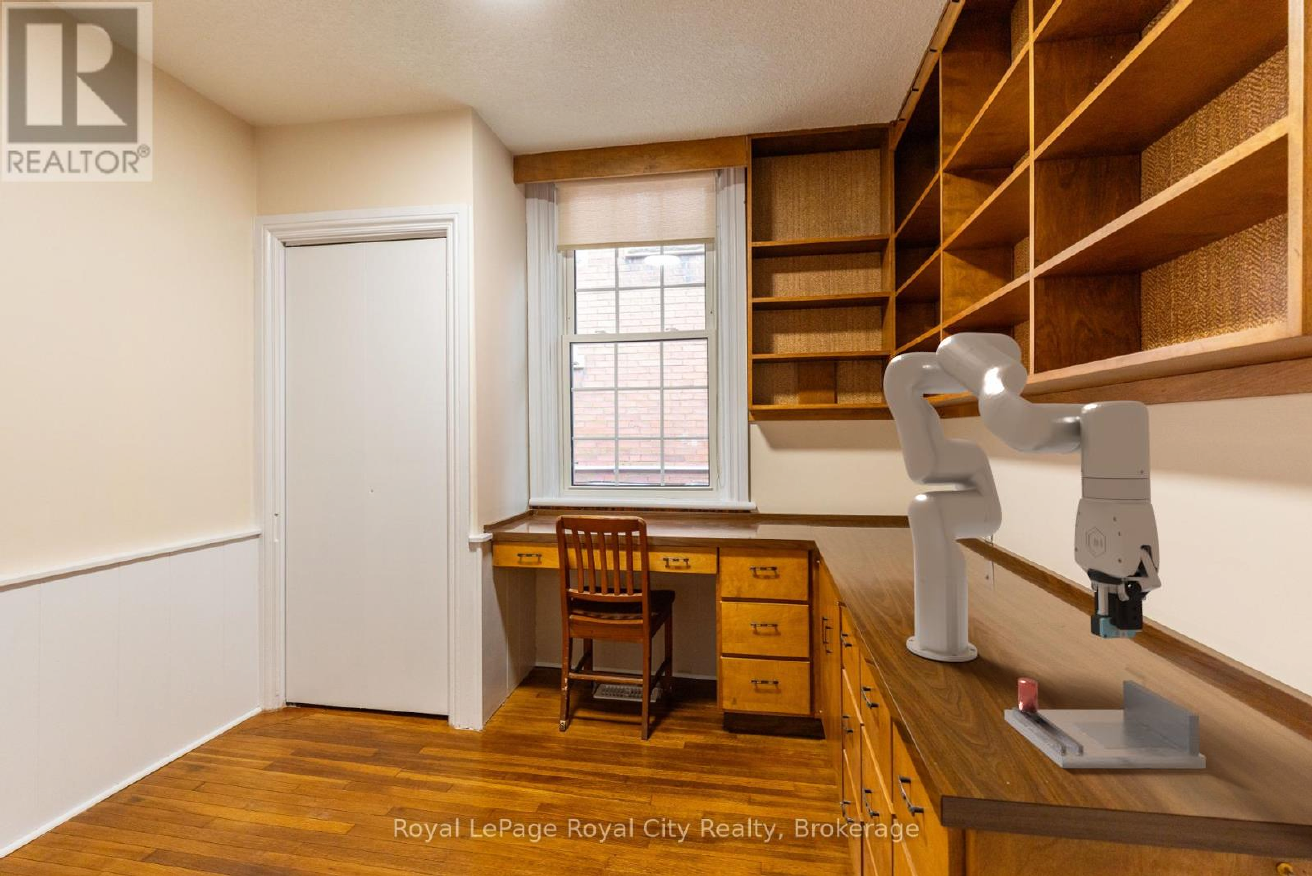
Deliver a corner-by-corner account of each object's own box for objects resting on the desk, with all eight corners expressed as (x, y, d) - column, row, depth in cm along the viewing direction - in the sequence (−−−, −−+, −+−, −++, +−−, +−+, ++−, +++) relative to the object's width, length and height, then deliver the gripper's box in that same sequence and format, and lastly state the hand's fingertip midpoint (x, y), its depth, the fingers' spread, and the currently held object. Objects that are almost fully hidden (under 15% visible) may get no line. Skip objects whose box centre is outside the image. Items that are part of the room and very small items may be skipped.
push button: (1123, 628, 84) (1122, 558, 84) (1158, 641, 79) (1156, 566, 79) (1080, 630, 84) (1078, 559, 84) (1112, 643, 78) (1110, 567, 78)
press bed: (1004, 719, 89) (1004, 676, 89) (1126, 719, 88) (1126, 676, 88) (1061, 768, 76) (1061, 717, 76) (1205, 768, 75) (1205, 717, 75)
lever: (1013, 710, 88) (1013, 677, 88) (1030, 710, 88) (1029, 677, 88) (1025, 720, 85) (1025, 685, 85) (1042, 720, 85) (1042, 685, 85)
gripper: (1049, 487, 90) (1051, 608, 89) (1134, 496, 73) (1137, 645, 73) (1099, 486, 89) (1102, 608, 89) (1196, 495, 73) (1199, 645, 73)
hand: (1118, 623), depth 81 cm, fingers closed on push button, 3 cm apart
